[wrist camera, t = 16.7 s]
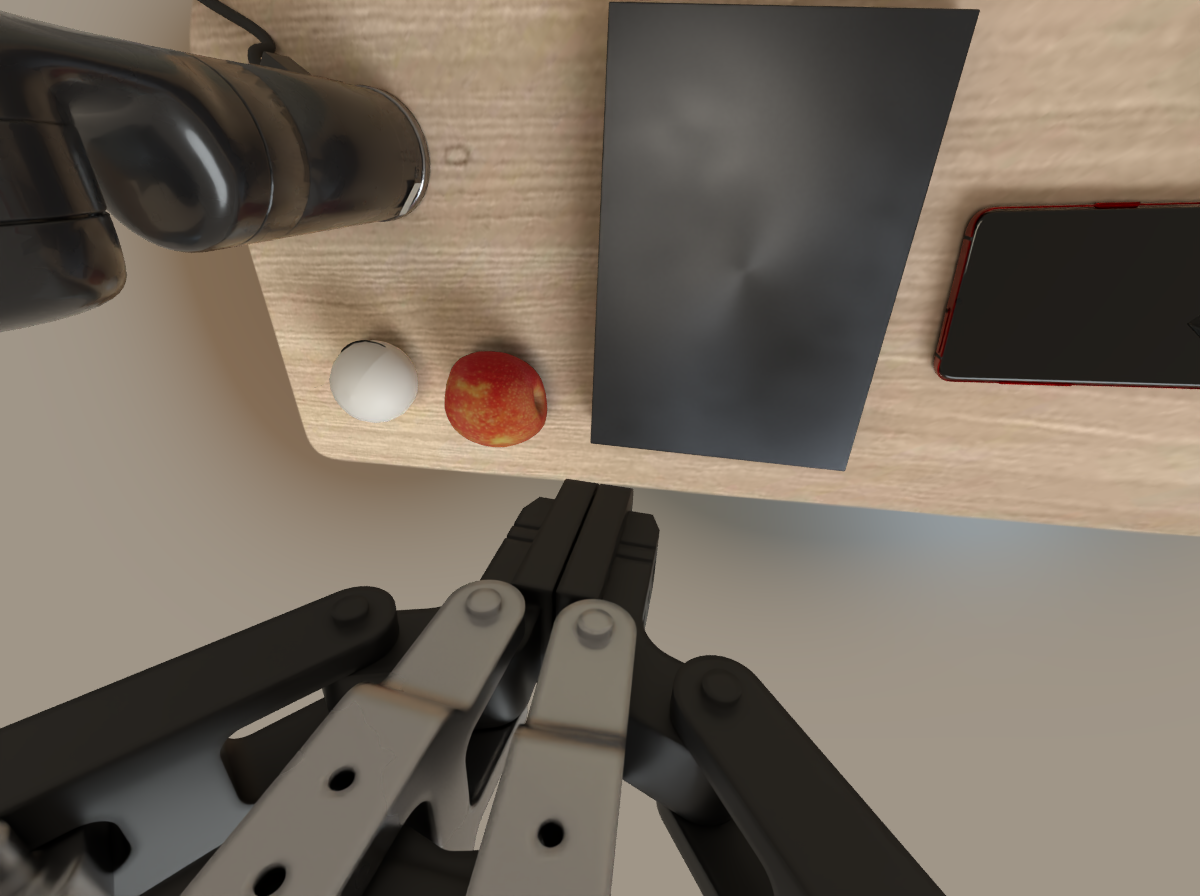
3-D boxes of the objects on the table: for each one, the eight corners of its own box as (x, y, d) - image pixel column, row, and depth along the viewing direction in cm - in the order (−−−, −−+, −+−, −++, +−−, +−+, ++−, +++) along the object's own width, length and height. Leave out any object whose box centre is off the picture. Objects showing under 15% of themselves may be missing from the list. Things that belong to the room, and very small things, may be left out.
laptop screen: (592, 438, 48) (590, 443, 47) (610, 5, 34) (608, 1, 33) (842, 466, 46) (845, 471, 45) (973, 12, 32) (980, 9, 31)
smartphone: (1343, 397, 37) (932, 384, 42) (1321, 388, 38) (925, 377, 43) (1468, 194, 31) (977, 206, 36) (1437, 193, 33) (968, 204, 37)
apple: (472, 332, 49) (430, 360, 42) (563, 352, 48) (535, 384, 41) (469, 412, 53) (430, 450, 46) (553, 432, 52) (526, 474, 45)
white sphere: (427, 332, 50) (383, 357, 44) (436, 407, 54) (397, 441, 47) (328, 323, 52) (272, 346, 46) (343, 397, 55) (293, 428, 49)
